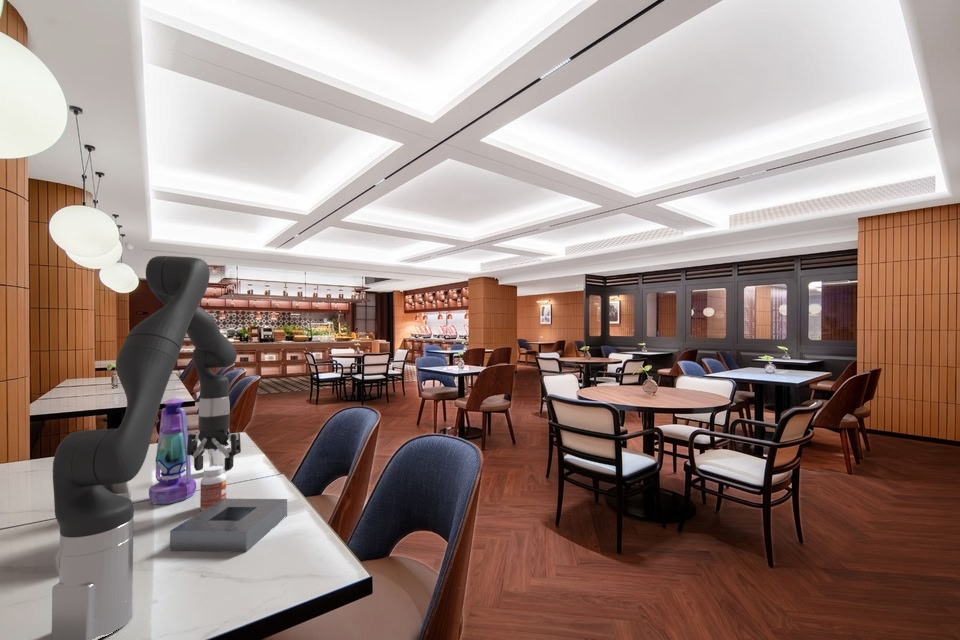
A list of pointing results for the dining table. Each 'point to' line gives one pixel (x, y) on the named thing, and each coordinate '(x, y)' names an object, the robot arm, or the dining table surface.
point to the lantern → (172, 457)
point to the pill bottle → (212, 486)
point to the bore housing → (228, 525)
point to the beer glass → (217, 458)
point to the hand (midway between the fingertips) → (213, 470)
